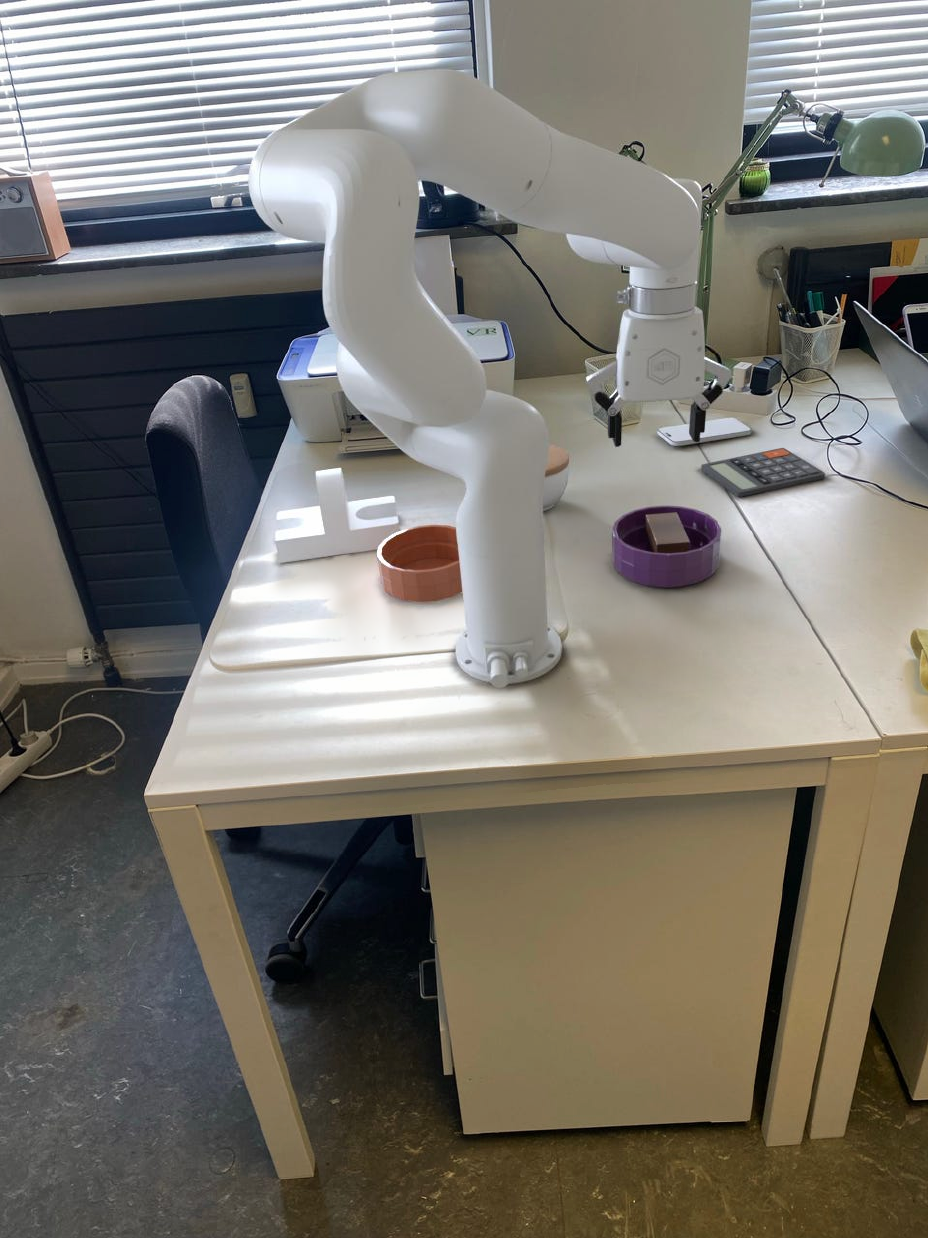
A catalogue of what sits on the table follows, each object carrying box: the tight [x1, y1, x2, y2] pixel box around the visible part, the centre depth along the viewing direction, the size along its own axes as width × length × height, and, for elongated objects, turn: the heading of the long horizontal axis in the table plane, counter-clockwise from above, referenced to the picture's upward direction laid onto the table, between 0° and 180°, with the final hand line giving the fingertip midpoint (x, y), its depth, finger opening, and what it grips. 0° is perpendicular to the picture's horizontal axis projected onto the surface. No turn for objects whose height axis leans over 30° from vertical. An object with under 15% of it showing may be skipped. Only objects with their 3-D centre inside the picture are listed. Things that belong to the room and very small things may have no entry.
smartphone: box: [656, 416, 752, 447], centre depth 157 cm, size 7×1×15 cm
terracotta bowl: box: [376, 524, 463, 603], centre depth 122 cm, size 13×13×5 cm
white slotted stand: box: [274, 467, 401, 564], centre depth 133 cm, size 18×10×11 cm, turn 98°
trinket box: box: [543, 444, 570, 512], centre depth 138 cm, size 11×11×9 cm
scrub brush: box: [645, 512, 690, 553], centre depth 120 cm, size 9×4×5 cm, turn 0°
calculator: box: [700, 447, 826, 498], centre depth 142 cm, size 12×1×15 cm
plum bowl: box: [611, 505, 723, 588], centre depth 120 cm, size 14×14×5 cm
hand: (655, 440), depth 112 cm, fingers open, 9 cm apart
